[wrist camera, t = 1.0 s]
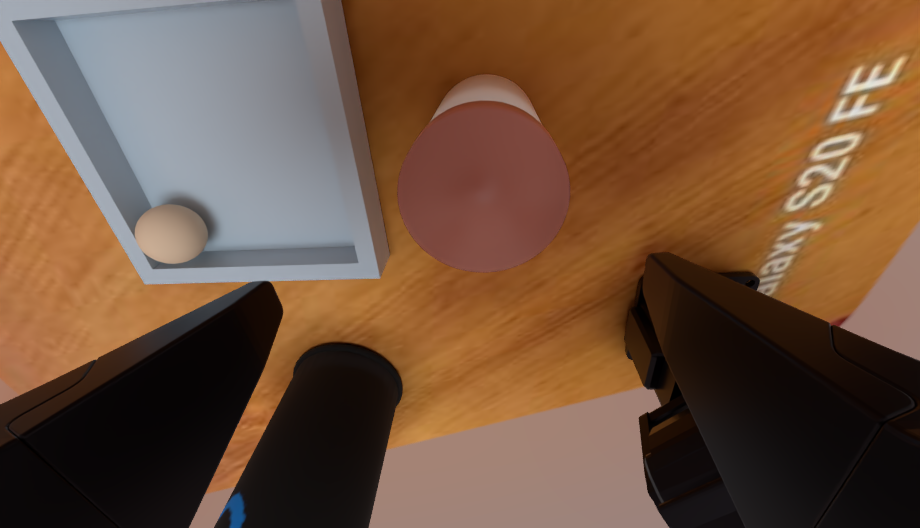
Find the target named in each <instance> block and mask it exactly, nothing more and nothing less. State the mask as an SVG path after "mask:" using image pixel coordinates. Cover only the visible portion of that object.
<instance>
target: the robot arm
mask: <svg viewBox="0 0 920 528" xmlns="http://www.w3.org/2000/svg"><path fill="white" fill-rule="evenodd" d="M749 280H750V281H749ZM747 281H749V282H748V283H746V282H747ZM759 283H760V280H759V278H758V277H757V276H756V275H755V274H753V273H750V272H743V273H715V272H712V271H710V270H708V269H706V268H703V267H701V266H699V265H696V264H694V263H692V262H690V261H687V260H685V259H683V258H680V257H678V256H676V255H674V254H671V253H669V252H661V253H651V254H649V255H648V256H647V259H646V264H645V271H644V277H642V278H641V279H640V281H639V284H638V289H637V294H636V299H635V304H634V306H633V307H632V308H631V309H630V310H629V315H628V321H627V326H626V331H625V336H624V340H625V343H626V349H625V352H626V355H627V357H628V358H629V359H631V360H633V362H634V364H635V367H636V369H637V371H638V374H639V376H640V379H641V381H642V383H643V386H644V387H646V388H647V389H654V390H655V393H656V395H657V397H658V399H659V402H660V404H661V407H659V408H658V409H656V410H654V411H653V412H651V413H648V412H647V413H645V414H643V415H642V416H640V417H639V425H640V434H641V444H642V453H643V463H644V472H645V478H646V483H647V490H648V493H649V496H650V497H651V499H652V500H653V501H654V503H655V505H656V507H657V509H658V511H659V513H660V514H661V516H662V517H663V519H664V520H665V522H666V523H667V525H668V526H669V528H920V361H919V360H916V359H914V358H912V357H909V356H906V355H904V354H901V353H899V352H896V351H894V350H892V349H889V348H887V347H884V346H882V345H880V344H877V343H875V342H872V341H870V340H868V339H865V338H863V337H860V336H858V335H856V334H854V333H852V332H849V331H847V330H845V329H843V328H840V327H838V326H836V325H832V326H831V325H830V323H829V322H826V321H824V320H822V319H820V318H817V317H815V316H813V315H810V314H808V313H806V312H804V311H801V310H799V309H797V308H794V307H792V306H790V305H788V304H785V303H783V302H781V301H778V300H776V299H774V298H772V297H769V296H767V295H765V294H763V293H760V292H758V291H757V288H758V286H759ZM282 316H283V308H282V305H281V302H280V300H279V298H278V296H277V293H276V291H275V289H274V287H273V285H272V284H271V283H270V282H269V281H254V282H250V283H248V284H246V285H244V286H242V287H240V288H238V289H236V290H234V291H232V292H230V293H228V294H226V295H224V296H222V297H220V298H218V299H216V300H214V301H212V302H210V303H208V304H206V305H204V306H202V307H200V308H198V309H196V310H194V311H192V312H190V313H188V314H186V315H184V316H182V317H180V318H178V319H175V320H173V321H171V322H169V323H167V324H165V325H163V326H161V327H159V328H157V329H155V330H153V331H151V332H149V333H147V334H145V335H143V336H141V337H139V338H137V339H135V340H133V341H131V342H129V343H127V344H125V345H123V346H121V347H119V348H117V349H115V350H113V351H111V352H109V353H107V354H105V355H103V356H101V357H99V358H98V359H97V360H93V361H91V362H88V363H86V364H84V365H82V366H80V367H78V368H76V369H74V370H72V371H70V372H68V373H66V374H64V375H62V376H60V377H58V378H56V379H54V380H52V381H50V382H47V383H45V384H43V385H41V386H39V387H37V388H35V389H33V390H30V391H28V392H26V393H24V394H22V395H20V396H18V397H15V398H13V399H11V400H9V401H7V402H5V403H2V404H0V528H189V526H190V524H191V522H192V520H193V518H194V516H195V514H196V512H197V509H198V507H199V505H200V503H201V501H202V499H203V496H204V495H205V493H206V491H207V488H208V486H209V484H210V482H211V480H212V478H213V476H214V474H215V472H216V469H217V467H218V465H219V463H220V461H221V459H222V457H223V455H224V452H225V450H226V448H227V446H228V444H229V442H230V440H231V438H232V436H233V433H234V431H235V429H236V427H237V425H238V423H239V421H240V419H241V417H242V414H243V412H244V410H245V408H246V406H247V404H248V402H249V400H250V398H251V395H252V393H253V391H254V389H255V387H256V385H257V383H258V381H259V379H260V376H261V374H262V372H263V370H264V367H265V365H266V362H267V359H268V357H269V354H270V351H271V348H272V345H273V342H274V339H275V337H276V334H277V331H278V328H279V325H280V322H281V319H282Z"/></svg>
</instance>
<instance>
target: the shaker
mask: <svg viewBox="0 0 920 528" xmlns="http://www.w3.org/2000/svg"><path fill="white" fill-rule="evenodd" d="M397 195H398V204H399V209H400V213H401V216H402V219H403V221H404V224H405V226H406V228H407V229H408V231H409V233H410V234H411V236H412V237H413V239H414V240H415V241H416V242H417V243H418V244H419V246H420V247H421V248H422V249H423V250H425V251H426V252H427V253H428V254H429V255H431V256H432V257H434V258H435V259H437V260H438V261H440V262H442V263H444V264H446V265H449V266H451V267H454V268H457V269H461V270H465V271H471V272H496V271H501V270H506V269H509V268H513V267H516V266H518V265H520V264H523V263H525V262H526V261H528V260H530V259H532V258H533V257H535V256H536V255H537V254H539V253H540V252H541V251H542V250H543V249H545V248H546V247H547V246H548V245H549V244H550V242H551V241H552V240H553V239H554V237H555V236H556V235H557V233H558V231H559V230H560V228H561V226H562V224H563V222H564V220H565V217H566V214H567V210H568V207H569V200H570V182H569V175H568V171H567V168H566V164H565V162H564V160H563V158H562V156H561V153H560V152H559V150H558V148H557V146H556V144H555V142H554V140H553V139H552V137H551V135H550V134H549V132H548V131H547V130H546V129H545V127H544V126H543V125H542V124H541V122H540V120H539V118H538V116H537V114H536V111H535V109H534V107H533V105H532V103H531V101H530V100H529V98H528V96H527V95H526V94H525V92H524V91H523V90H522V89H521V88H520V87H519V86H518V85H517V84H515V83H514V82H512V81H511V80H508V79H506V78H504V77H501V76H498V75H491V74H482V75H476V76H472V77H469V78H467V79H465V80H463V81H461V82H459V83H458V84H456V85H455V86H454V87H453V88H452V89H451V90H450V91H449V92H448V93H447V94H446V96H445V97H444V98H443V100H442V102H441V103H440V105H439V107H438V109H437V110H436V112H435V114H434V116H433V117H432V119H431V121H430V122H429V123H428V125H427V126H426V127H425V128H424V129H423V130H422V131H421V133H420V134H419V136H418V137H417V139H416V140H415V142H414V144H413V145H412V147H411V149H410V150H409V152H408V154H407V156H406V158H405V160H404V162H403V165H402V168H401V171H400V174H399V180H398V192H397Z"/></svg>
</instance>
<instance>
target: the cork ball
mask: <svg viewBox="0 0 920 528" xmlns="http://www.w3.org/2000/svg"><path fill="white" fill-rule="evenodd" d="M135 239H136V242H137V244H138V246H139V247H140V249H141V250H142V251H143V252H144V253H145V254H146V255H147V256H149V257H150V258H152V259H154V260H156V261H159V262H163V263H168V264H177V263H183V262H187V261H189V260H192V259H193V258H195V257H196V256H198V255H199V254H200V253H201V252H202V251H203V249H204V248H205V246H206V244H207V240H208V230H207V227H206V225H205V223H204V221H203V219H202V218H201V217H200V216H199V215H198V214H197V213H195V212H194V211H192V210H191V209H189V208H187V207H184V206H180V205H174V204H166V205H160V206H156V207H154V208H151V209H149V210H148V211H146V212H145V213H144V214H143V215H142V216H141V217H140V218H139V220H138V221H137V224H136V227H135Z"/></svg>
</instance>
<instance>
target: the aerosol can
mask: <svg viewBox="0 0 920 528" xmlns="http://www.w3.org/2000/svg"><path fill="white" fill-rule="evenodd" d="M401 397H402V383H401V379H400V377H399V375H398V373H397V372H396V370H395V369H394V368H393V367H392V366H391V365H390V364H389V363H388V362H387V361H386V360H384V359H383V358H382V357H380V356H379V355H377V354H375V353H373V352H371V351H369V350H366V349H364V348H361V347H356V346H352V345H345V344H328V345H323V346H319V347H316V348H314V349H311V350H309V351H308V352H306V353H305V354H303V355H302V356H301V357H300V359H299V360H298V361H297V362H296V365H295V367H294V372H293V378H292V380H291V382H290V384H289V386H288V388H287V390H286V392H285V393H284V395H283V397H282V399H281V401H280V403H279V405H278V407H277V409H276V411H275V412H274V414H273V416H272V418H271V420H270V422H269V424H268V426H267V428H266V430H265V432H264V433H263V435H262V437H261V439H260V441H259V443H258V445H257V447H256V449H255V451H254V452H253V454H252V456H251V458H250V460H249V462H248V464H247V466H246V468H245V470H244V471H243V473H242V475H241V477H240V479H239V481H238V483H237V485H236V487H235V489H234V491H233V492H232V494H231V496H230V498H229V500H228V502H227V504H226V506H225V508H224V510H223V512H222V513H221V515H220V517H219V519H218V521H217V523H216V525H215V527H214V528H368V527H369V523H370V519H371V514H372V510H373V505H374V501H375V497H376V491H377V488H378V483H379V479H380V474H381V470H382V466H383V461H384V456H385V452H386V448H387V443H388V439H389V435H390V430H391V426H392V421H393V417H394V412H395V408H396V406H397V405H398V403H399V402H400V400H401Z"/></svg>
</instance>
